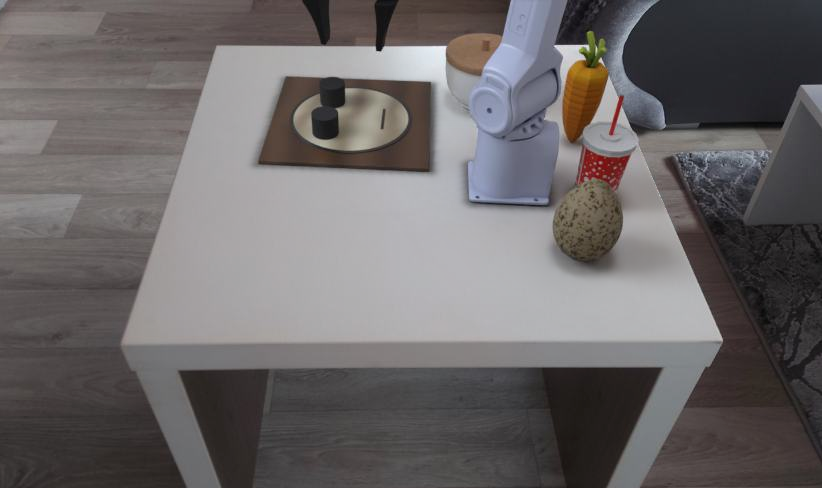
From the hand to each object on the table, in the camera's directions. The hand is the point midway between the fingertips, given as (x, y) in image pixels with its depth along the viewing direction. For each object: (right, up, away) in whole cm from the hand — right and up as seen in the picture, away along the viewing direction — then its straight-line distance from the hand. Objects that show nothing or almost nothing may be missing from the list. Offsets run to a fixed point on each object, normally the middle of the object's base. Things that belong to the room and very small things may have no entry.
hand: (352, 44), depth 93 cm
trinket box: (+18, -6, +8) cm, 21 cm away
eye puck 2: (-4, -12, +1) cm, 12 cm away
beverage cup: (+29, -22, -9) cm, 38 cm away
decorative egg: (+25, -29, -16) cm, 41 cm away
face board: (0, -9, +4) cm, 10 cm away
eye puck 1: (-3, -6, +6) cm, 9 cm away
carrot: (+29, -13, 0) cm, 32 cm away
